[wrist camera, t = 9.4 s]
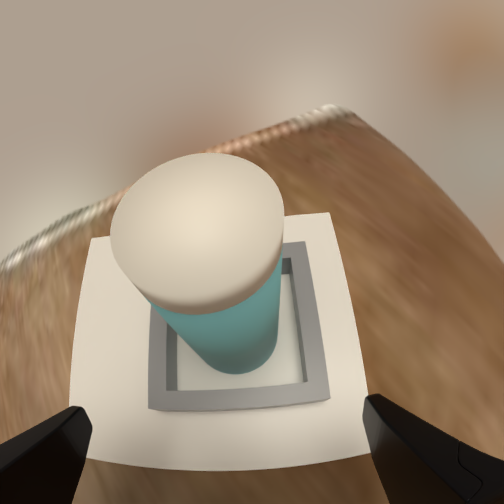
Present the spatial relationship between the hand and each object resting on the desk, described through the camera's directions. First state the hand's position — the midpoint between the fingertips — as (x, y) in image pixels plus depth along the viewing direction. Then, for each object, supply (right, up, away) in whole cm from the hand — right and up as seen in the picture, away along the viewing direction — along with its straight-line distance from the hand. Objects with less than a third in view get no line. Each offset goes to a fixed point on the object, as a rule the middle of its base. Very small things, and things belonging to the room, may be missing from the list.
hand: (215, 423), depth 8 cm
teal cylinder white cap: (0, 0, +9) cm, 9 cm away
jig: (-2, 0, +10) cm, 10 cm away
